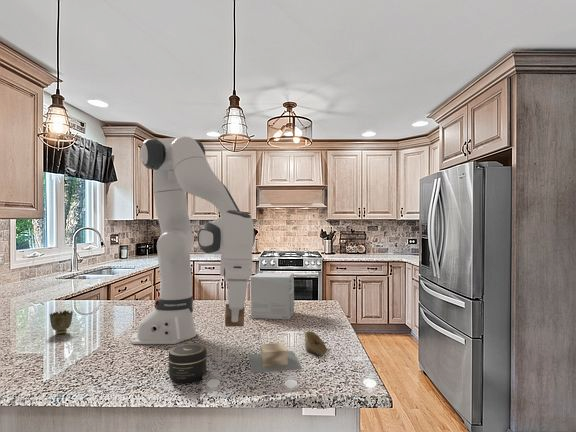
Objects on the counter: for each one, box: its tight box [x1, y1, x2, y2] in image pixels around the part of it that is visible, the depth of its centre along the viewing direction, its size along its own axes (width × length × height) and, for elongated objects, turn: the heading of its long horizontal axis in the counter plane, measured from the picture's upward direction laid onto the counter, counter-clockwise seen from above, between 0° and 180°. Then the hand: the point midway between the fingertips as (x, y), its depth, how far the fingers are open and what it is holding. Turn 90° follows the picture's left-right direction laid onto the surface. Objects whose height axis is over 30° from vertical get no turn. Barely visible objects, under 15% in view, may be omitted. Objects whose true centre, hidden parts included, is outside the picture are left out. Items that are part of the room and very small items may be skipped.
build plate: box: [247, 350, 303, 374], centre depth 108 cm, size 14×14×1 cm
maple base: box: [260, 342, 288, 367], centre depth 108 cm, size 7×7×4 cm
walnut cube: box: [224, 303, 245, 328], centre depth 104 cm, size 5×5×5 cm
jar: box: [167, 343, 208, 385], centre depth 100 cm, size 10×10×8 cm
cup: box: [49, 309, 73, 336], centre depth 140 cm, size 8×7×8 cm
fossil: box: [304, 330, 327, 357], centre depth 117 cm, size 9×4×10 cm
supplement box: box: [250, 272, 295, 320], centre depth 165 cm, size 17×13×18 cm
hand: (234, 318), depth 104 cm, fingers closed on walnut cube, 5 cm apart
